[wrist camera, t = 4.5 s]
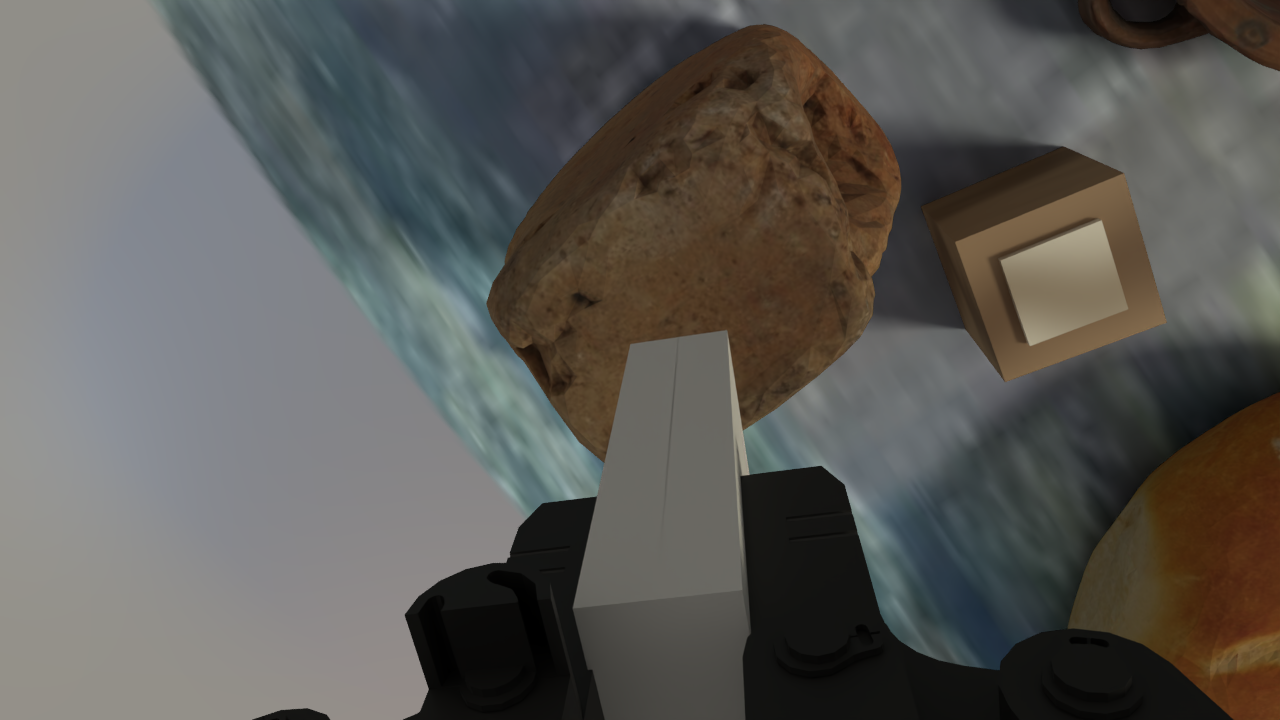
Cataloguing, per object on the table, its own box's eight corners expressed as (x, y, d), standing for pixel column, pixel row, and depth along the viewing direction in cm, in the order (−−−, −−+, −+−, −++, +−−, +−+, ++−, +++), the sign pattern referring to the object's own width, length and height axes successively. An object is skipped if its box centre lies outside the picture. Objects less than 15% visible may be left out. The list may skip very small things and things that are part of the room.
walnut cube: (920, 206, 39) (957, 244, 33) (1063, 146, 38) (1127, 175, 32) (965, 328, 41) (1007, 385, 35) (1102, 275, 39) (1170, 325, 34)
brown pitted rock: (667, 292, 41) (629, 540, 22) (555, 160, 39) (415, 313, 21) (871, 134, 38) (1023, 273, 19) (760, -17, 36) (812, -23, 18)
